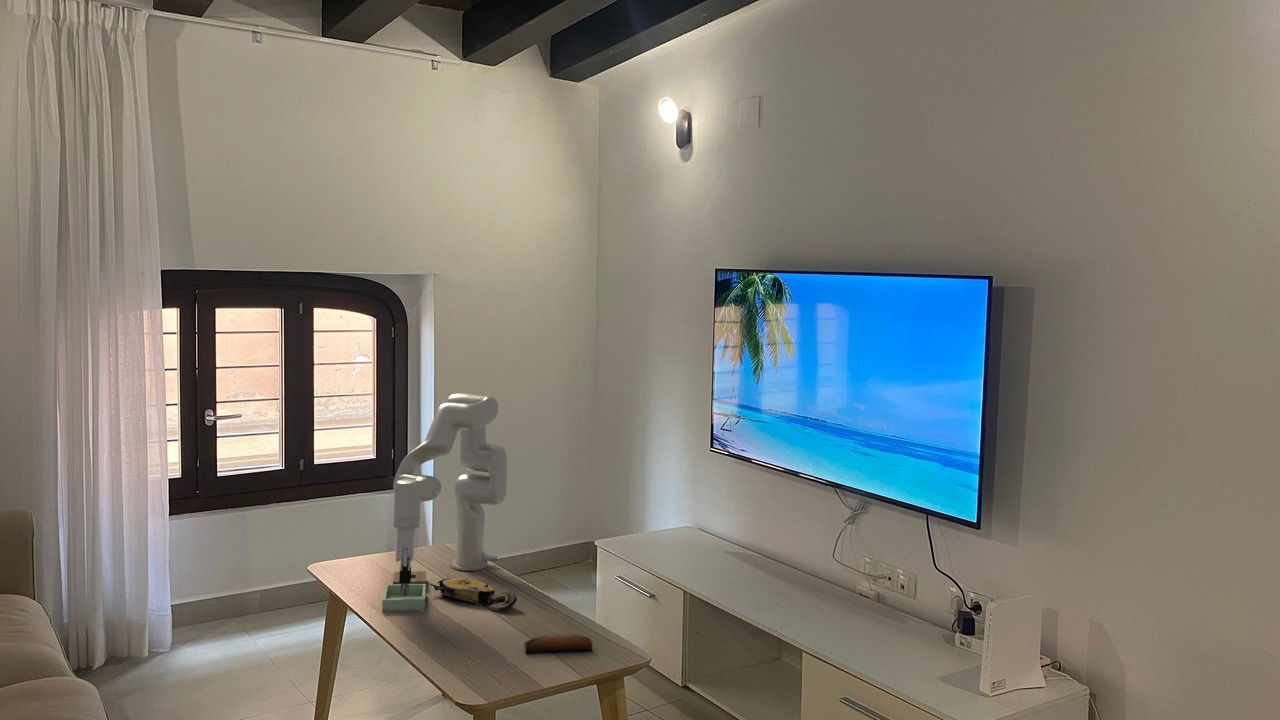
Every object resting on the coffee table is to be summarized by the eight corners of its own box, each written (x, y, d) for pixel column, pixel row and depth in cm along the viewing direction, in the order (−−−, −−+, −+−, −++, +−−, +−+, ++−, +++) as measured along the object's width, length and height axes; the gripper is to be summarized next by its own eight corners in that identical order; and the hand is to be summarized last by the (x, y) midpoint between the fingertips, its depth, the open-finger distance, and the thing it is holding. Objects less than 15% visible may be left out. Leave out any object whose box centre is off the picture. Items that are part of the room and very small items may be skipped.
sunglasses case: (587, 639, 263) (590, 624, 259) (590, 661, 257) (593, 645, 254) (522, 642, 259) (524, 626, 255) (523, 664, 253) (525, 648, 250)
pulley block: (496, 597, 276) (428, 574, 294) (493, 617, 275) (425, 592, 293) (530, 593, 287) (462, 571, 305) (527, 612, 287) (460, 589, 305)
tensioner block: (426, 580, 307) (426, 571, 306) (425, 590, 297) (425, 581, 297) (394, 580, 304) (394, 571, 304) (392, 591, 295) (392, 581, 294)
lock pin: (408, 593, 286) (409, 567, 285) (408, 596, 284) (409, 569, 283) (400, 593, 286) (401, 567, 285) (400, 596, 283) (400, 569, 283)
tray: (425, 594, 293) (425, 583, 293) (424, 610, 279) (424, 599, 279) (385, 595, 290) (385, 584, 290) (382, 611, 277) (382, 600, 276)
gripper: (395, 514, 290) (393, 573, 291) (392, 528, 274) (390, 590, 276) (420, 514, 291) (418, 573, 293) (419, 528, 276) (417, 590, 277)
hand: (405, 581), depth 284 cm, fingers closed on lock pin, 2 cm apart
